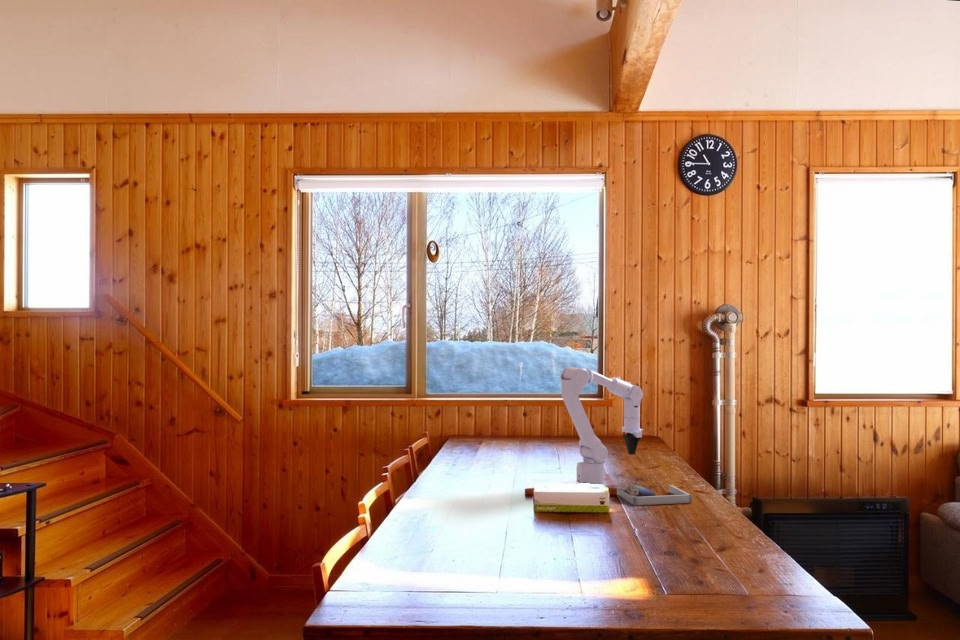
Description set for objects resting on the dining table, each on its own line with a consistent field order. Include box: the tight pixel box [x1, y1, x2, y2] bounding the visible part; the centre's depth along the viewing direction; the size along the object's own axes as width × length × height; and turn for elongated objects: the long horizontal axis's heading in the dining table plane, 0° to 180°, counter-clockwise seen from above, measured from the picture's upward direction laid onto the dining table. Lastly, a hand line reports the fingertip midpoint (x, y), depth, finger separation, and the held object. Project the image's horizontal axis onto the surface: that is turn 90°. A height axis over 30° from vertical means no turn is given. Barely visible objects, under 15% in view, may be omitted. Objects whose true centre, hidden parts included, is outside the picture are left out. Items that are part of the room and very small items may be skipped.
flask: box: [618, 482, 657, 497], centre depth 246 cm, size 9×3×11 cm
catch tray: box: [616, 484, 693, 506], centre depth 247 cm, size 20×15×2 cm
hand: (631, 454), depth 272 cm, fingers closed
